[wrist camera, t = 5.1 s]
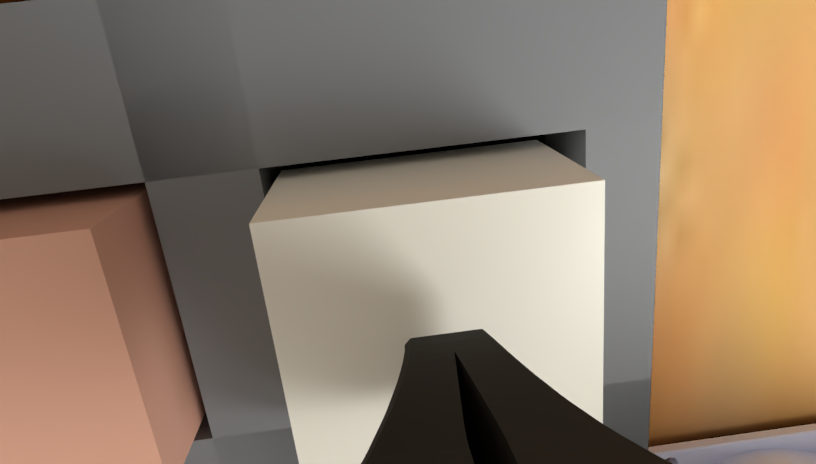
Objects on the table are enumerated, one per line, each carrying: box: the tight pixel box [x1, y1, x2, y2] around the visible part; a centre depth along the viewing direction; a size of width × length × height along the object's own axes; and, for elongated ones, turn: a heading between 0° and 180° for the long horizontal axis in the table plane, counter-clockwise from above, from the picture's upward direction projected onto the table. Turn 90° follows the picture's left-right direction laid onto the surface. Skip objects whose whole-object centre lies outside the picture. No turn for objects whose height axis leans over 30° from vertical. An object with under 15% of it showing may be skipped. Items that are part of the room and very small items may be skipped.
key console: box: [0, 0, 667, 464], centre depth 15 cm, size 20×14×3 cm
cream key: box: [249, 140, 605, 464], centre depth 12 cm, size 6×6×4 cm
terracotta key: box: [0, 182, 206, 464], centre depth 13 cm, size 6×6×4 cm
